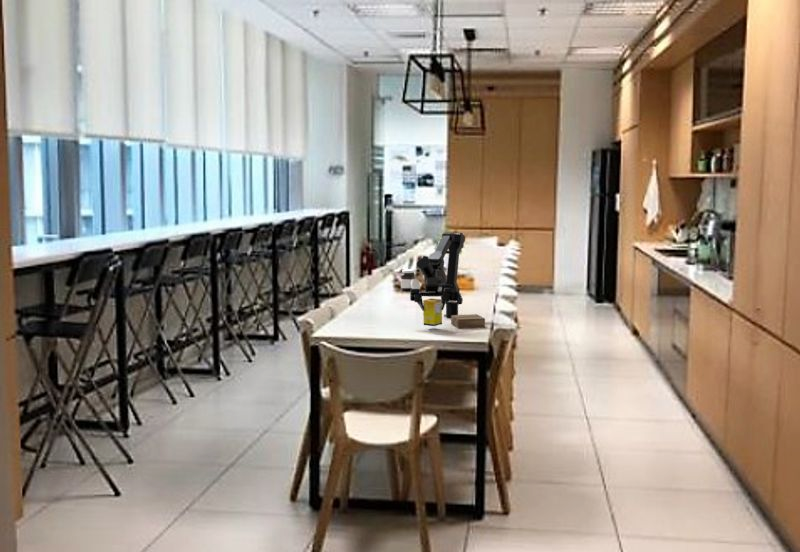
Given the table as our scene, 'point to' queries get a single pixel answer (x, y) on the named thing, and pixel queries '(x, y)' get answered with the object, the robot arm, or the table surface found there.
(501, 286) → the table surface
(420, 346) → the table surface
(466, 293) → the table surface
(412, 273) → the spread jar
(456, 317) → the walnut plinth
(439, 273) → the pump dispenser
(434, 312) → the supplement box
